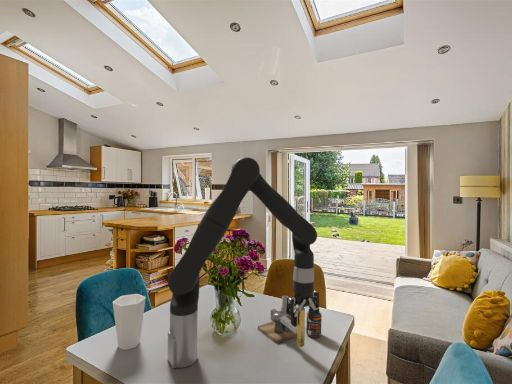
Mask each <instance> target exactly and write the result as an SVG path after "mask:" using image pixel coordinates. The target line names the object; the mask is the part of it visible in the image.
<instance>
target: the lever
mask: <svg viewBox="0 0 512 384" xmlns="http://www.w3.org/2000/svg"><path fill="white" fill-rule="evenodd" d="M296 307H297V308H298V306H296ZM305 309H306V308H305V307H304V308H302V309H301V311H299V312H298V314H297V327H294V326H292V324H291V320H290V319H288V318H287V317H285V313H284V312H281V311H280V310H277V309H275V308H273V309H270V321H271V322H272V321H273V322H275V321H280V322H281V323H282V324H284V325H285V326H286V327H288V328H289V329H290V330H292V331H293V332H294V333H296V337H295V345H296V346H297V347H299V348H304V346H305V326H306V325H305V323H306V310H305Z"/></svg>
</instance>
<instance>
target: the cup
mask: <svg viewBox="0 0 512 384" xmlns="http://www.w3.org/2000/svg"><path fill="white" fill-rule="evenodd" d="M145 305H146V296H145V295H141V294H139V293H133V294H126V295H125V294H124V295H121V296H119V297H117V298H116V299H115V300H113V301H112V306H113V307H112V309H113V315H114V316H113V317H114V324H115V332H116V338H117V341H116V342H117V345H118V348H119V349H120V350H122V351H126V350H130V349H131V350H132V349H135V348H136V347H137V346H138V345H140V343H141V336H142V335H141V334H142V329H143V328H142V327H143V321H144V312H145Z"/></svg>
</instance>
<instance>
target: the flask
mask: <svg viewBox="0 0 512 384" xmlns="http://www.w3.org/2000/svg"><path fill="white" fill-rule="evenodd" d="M288 297H289V296H288V295H282V296H281V299H282V301H281V306H280V309H279V311H281V312H284V313H285V315H288V314H286V307H287V298H288ZM289 316H290V315H289ZM290 317H291V316H290Z"/></svg>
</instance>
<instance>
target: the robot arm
mask: <svg viewBox="0 0 512 384" xmlns="http://www.w3.org/2000/svg"><path fill="white" fill-rule="evenodd" d="M260 171H261V170H260V165H259V164H258V161H256V159H254V158H253V157H247V156H244V157H240V158H239V159H237V160H235V161H234V162H233V164H232V166H231V172H230V175H229V177H228V179H227V181H226V183H225V185H224V187H223V189H222V191H221V192H220V193H219V195H218V196H217V197H216V198H215V199H214V200H213V202H212V203H211V204H210V206H209V207H208V208H207V210H206V211H205V212H204V215H203V217H202V218H201V220H200V222H199V224H198V226H197V228H196V229H195V231H194V233H193V235H192V238H191V240H190V242H189V244H188V246H187V249H186V250H185V252H184V253H183V255H182V257H181V258H180V259H179V261H178V262H177V264H176V265H175V266H174V267H173V269H171V272H170V273H169V275H168V278H167V287H168V288H169V289H168V290H169V291H171V293H172V296H171V301H170V305H169V331H168V332H167V361H168V362H169V364H170V366H171V368H172V369H177V368H179V369H180V368H181V369H182V368H183V369H184V368H187V367H190V366H192V365H193V364H195V363H196V362H197V360H198V314H199V313H198V312H199V311H198V307H199V306H198V305H199V304H198V303H199V299H200V296H199V295H200V273H201V270H202V268H203V267H204V265H205V263H206V262H207V260H208V259H209V257H210V256H211V255H212V254H213V252H214V250H215V249H216V248H217V246H218V245H219V243H220V242H221V241H222V239H223V238H224V236H225V234H226V233H227V231H228V228H229V227H230V225H231V224H232V221H233V219H234V218H235V216H236V213H237V212H238V209H239V208H240V205H241V203H242V202H243V200H244V198H245V197H246V196H247V194H248V193H249V191H250V192H251V193H252V194H253V195H255V196H256V198H257V199H259V201H260V202H261V203H262V204H263V206H265V208H266V209H267V210H268V211H269V212H270V214H271V215H272V216H273V217H274V218H275V219H276V220H277V221H278V222H279V223H280V224H281V225H282V226H284V227H285V228H286V229H288V230H289V231H290V232H291V239H292V246H293V247H292V248H293V252H294V259H293V260H294V261H293V265H294V266H293V275H292V276H293V277H292V282H293V283H292V284H293V285H292V290H293V292H294V293H293V297H290V296H288V298H287V307H286V314H288V315H290V316H291V324H292V326H294V327H297V314H298V312H299V311H301V309H302V308H305V307H306V308H307V307H308V308H310V309H308V311H309V319H310V320H311V321H313V320H314V318H315V310H316V308H319V309H320V292H319V291H317V290H315V269H314V266H315V262H314V261H315V260H314V258H315V257H314V252H313V251H312V249H311V245H313V244H314V243H316V241H317V239H318V233H317V230H316V228H315V227H314V225H312V224H311V223H310V222H309V221H308V220H307V219H305V218H304V217H303V216H302V215H301V214H299V212H298V211H297V210H296V209H295V208H294V207H293V206H292V204H290V202H289V201H288V200H286V199H285V197H283V196H282V195H281V193H279V192H277V190H275V188H273V187H272V186H271V185H270V184H269V183H268V182H267V181H266V180H265V178H264V177H263V176H262V174H261V173H260ZM297 307H298V308H297Z"/></svg>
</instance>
